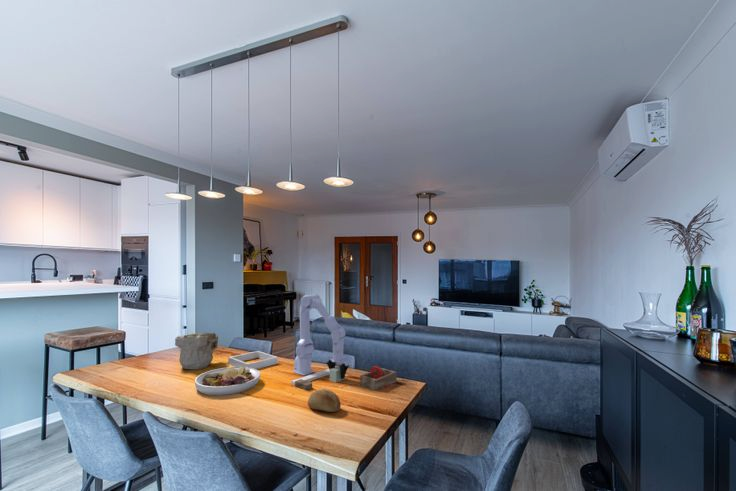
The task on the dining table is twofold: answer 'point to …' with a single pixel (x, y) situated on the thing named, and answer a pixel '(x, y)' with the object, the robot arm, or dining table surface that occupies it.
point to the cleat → (303, 384)
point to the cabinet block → (335, 374)
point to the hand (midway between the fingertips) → (337, 376)
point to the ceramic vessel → (196, 349)
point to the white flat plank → (313, 376)
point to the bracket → (378, 373)
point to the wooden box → (378, 383)
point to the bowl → (227, 380)
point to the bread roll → (324, 400)
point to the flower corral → (265, 357)
